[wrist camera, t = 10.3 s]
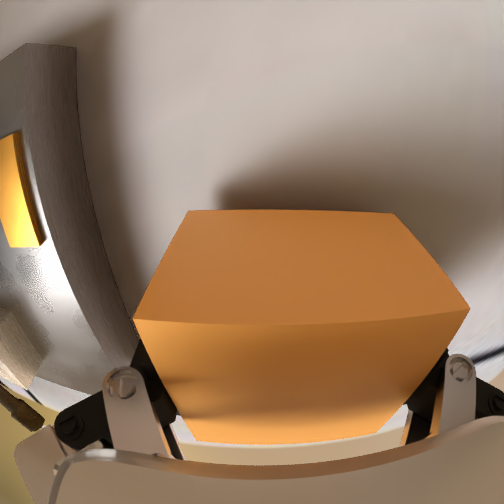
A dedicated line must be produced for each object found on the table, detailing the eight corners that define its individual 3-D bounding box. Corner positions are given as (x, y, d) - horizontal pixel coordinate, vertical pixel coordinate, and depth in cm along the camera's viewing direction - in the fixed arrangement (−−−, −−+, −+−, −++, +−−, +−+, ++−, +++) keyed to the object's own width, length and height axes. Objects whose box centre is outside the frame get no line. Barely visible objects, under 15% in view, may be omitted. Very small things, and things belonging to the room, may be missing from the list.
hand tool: (-32, 351, 23) (-43, 368, 19) (-32, 346, 22) (-44, 365, 18) (42, 416, 31) (35, 435, 27) (47, 417, 30) (39, 436, 26)
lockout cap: (393, 213, 9) (470, 308, 4) (353, 345, 13) (375, 432, 8) (188, 210, 9) (132, 318, 5) (210, 347, 13) (196, 440, 9)
